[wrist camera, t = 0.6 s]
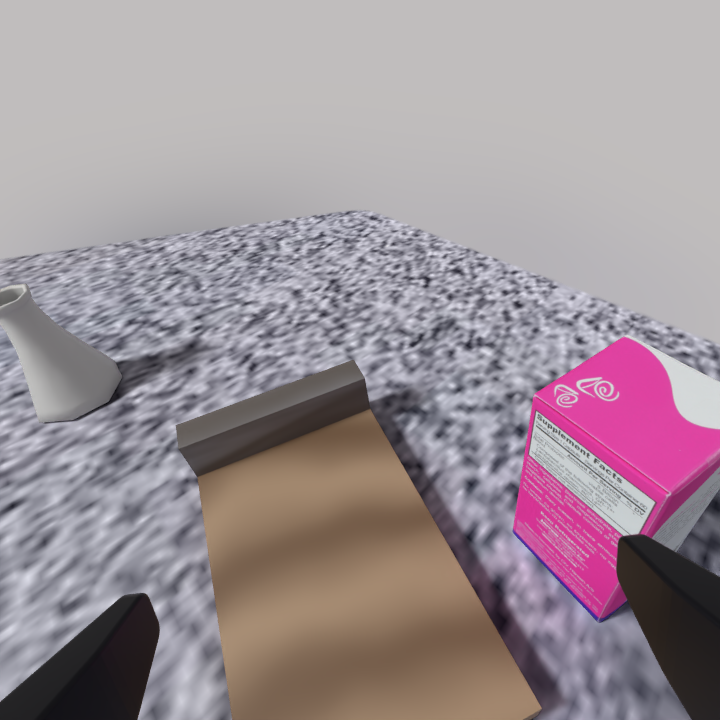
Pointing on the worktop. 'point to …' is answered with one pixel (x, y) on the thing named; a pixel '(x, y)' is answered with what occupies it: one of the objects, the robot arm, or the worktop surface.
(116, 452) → the worktop surface
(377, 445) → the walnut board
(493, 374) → the worktop surface
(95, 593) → the worktop surface
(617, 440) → the supplement box
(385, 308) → the worktop surface
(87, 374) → the flask
